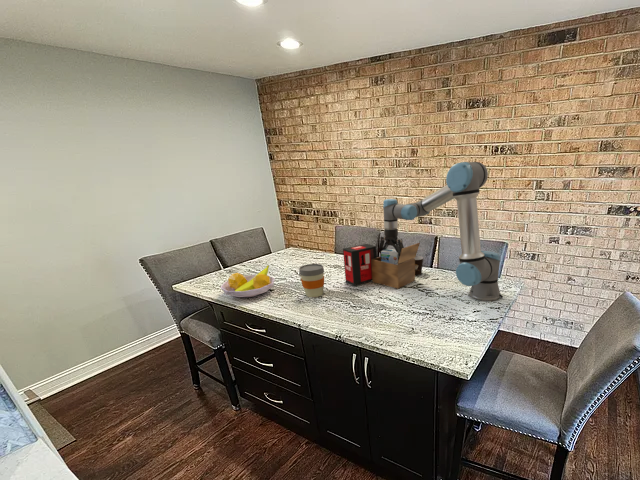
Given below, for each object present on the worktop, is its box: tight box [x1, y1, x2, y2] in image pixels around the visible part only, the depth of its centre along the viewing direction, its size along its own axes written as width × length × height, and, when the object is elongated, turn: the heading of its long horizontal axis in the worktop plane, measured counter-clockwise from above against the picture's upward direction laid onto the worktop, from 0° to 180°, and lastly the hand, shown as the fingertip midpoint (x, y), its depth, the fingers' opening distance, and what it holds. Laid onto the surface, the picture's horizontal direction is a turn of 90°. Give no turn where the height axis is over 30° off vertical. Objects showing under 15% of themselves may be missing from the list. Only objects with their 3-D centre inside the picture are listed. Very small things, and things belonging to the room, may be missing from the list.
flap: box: [398, 242, 421, 264], centre depth 182 cm, size 9×16×1 cm
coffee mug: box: [415, 255, 424, 276], centre depth 207 cm, size 12×9×10 cm
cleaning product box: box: [342, 243, 377, 287], centre depth 194 cm, size 16×9×20 cm, turn 131°
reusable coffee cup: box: [298, 263, 325, 298], centre depth 176 cm, size 13×13×15 cm
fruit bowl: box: [220, 264, 276, 298], centre depth 181 cm, size 28×27×11 cm
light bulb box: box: [380, 248, 399, 265], centre depth 191 cm, size 11×7×11 cm, turn 68°
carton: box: [371, 255, 416, 290], centre depth 193 cm, size 19×16×14 cm
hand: (391, 266), depth 193 cm, fingers closed on light bulb box, 11 cm apart
